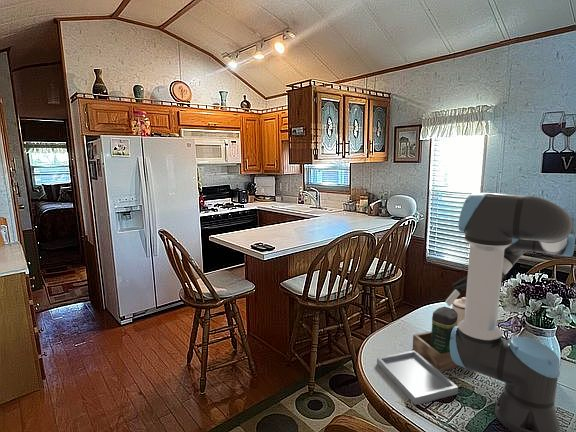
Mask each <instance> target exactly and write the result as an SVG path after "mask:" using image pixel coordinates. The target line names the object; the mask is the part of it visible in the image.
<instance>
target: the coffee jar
mask: <svg viewBox="0 0 576 432" xmlns="http://www.w3.org/2000/svg"><path fill="white" fill-rule="evenodd" d="M431 316H432V317H431V331H432V332H431V342H430V346H431V347H433V348H434V349H435V350H436V351H438V352H439V353H440V354H442V353H447V352H450V339H451V332H452V329H453V328H454V327H455V326H458V325H457V318H458V314H457V312H456V311H455V310H454V309H452V307H448V306H441V307H439V308H436V309H434V311H433V312H432V315H431Z"/></svg>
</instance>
